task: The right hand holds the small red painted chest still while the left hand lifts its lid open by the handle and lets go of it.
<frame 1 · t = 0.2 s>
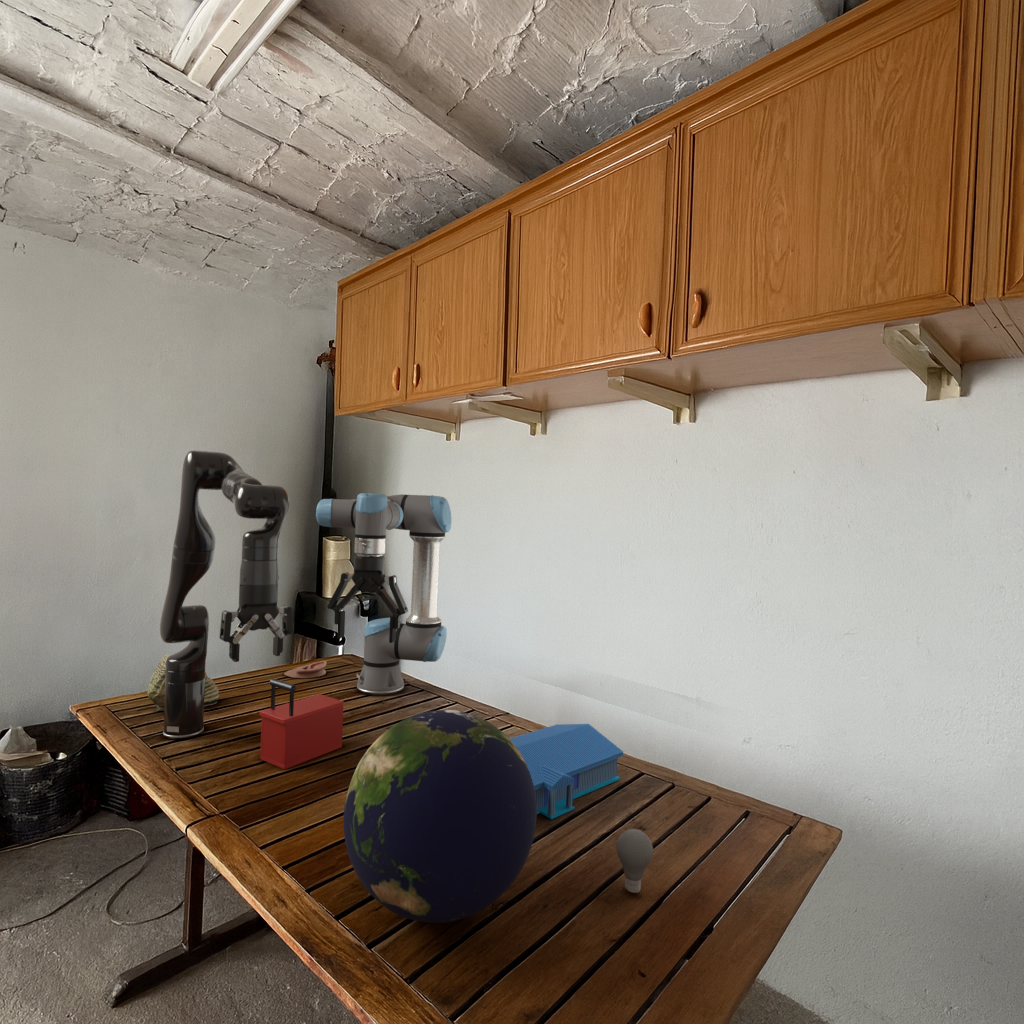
left hand: (256, 658, 132), 29 cm above the table, tool pointing down, fingers open, 8 cm apart
right hand: (366, 639, 159), 28 cm above the table, tool pointing down, fingers open, 13 cm apart
lid: (303, 693, 155), point 15 cm above the table, hinge at 0.0°
globe: (437, 905, 100), on the table
chest: (302, 752, 156), on the table
anatomical model: (305, 674, 223), on the table
fossil: (183, 706, 185), on the table
model building: (534, 788, 142), on the table
light bulb: (632, 891, 106), on the table
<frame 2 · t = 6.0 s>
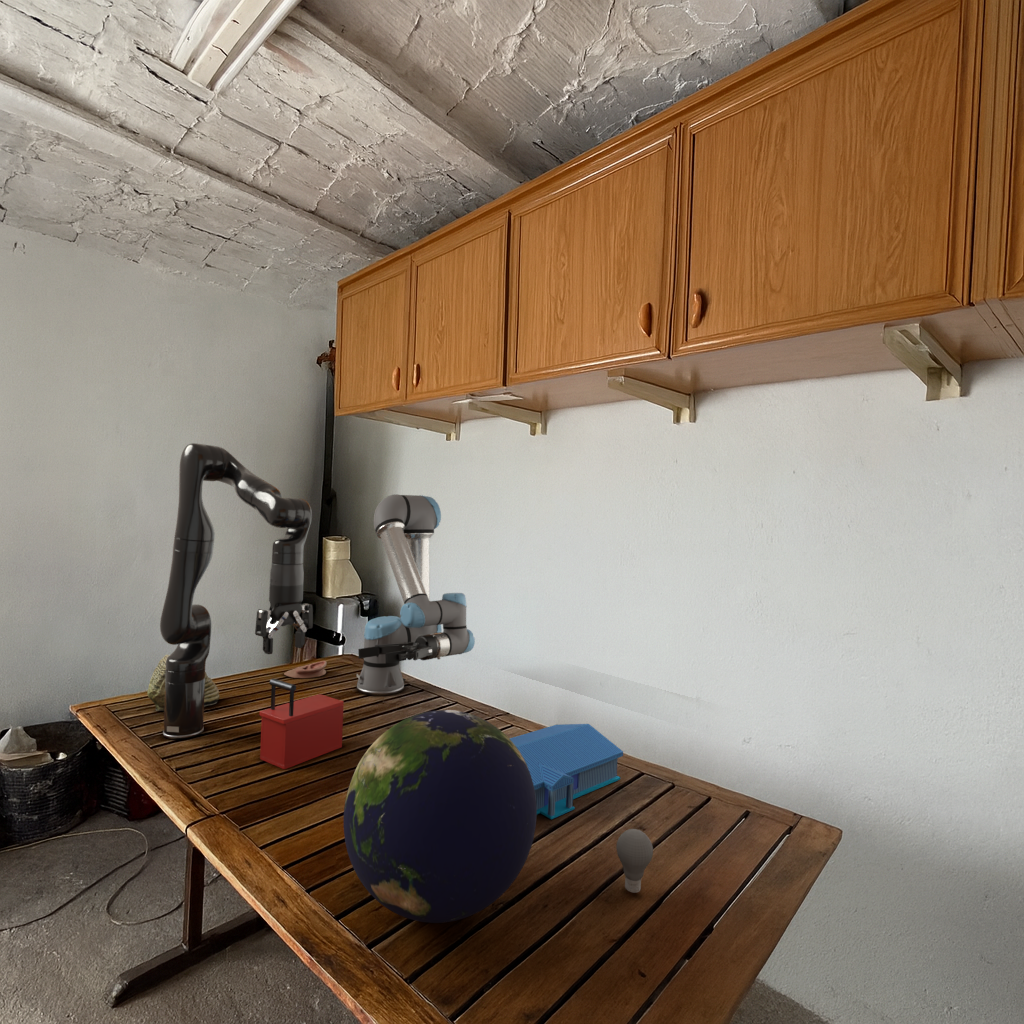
left hand: (284, 650, 150), 26 cm above the table, tool pointing down, fingers open, 8 cm apart
right hand: (372, 656, 179), 19 cm above the table, tool horizontal, fingers open, 13 cm apart
nothing on the table moved.
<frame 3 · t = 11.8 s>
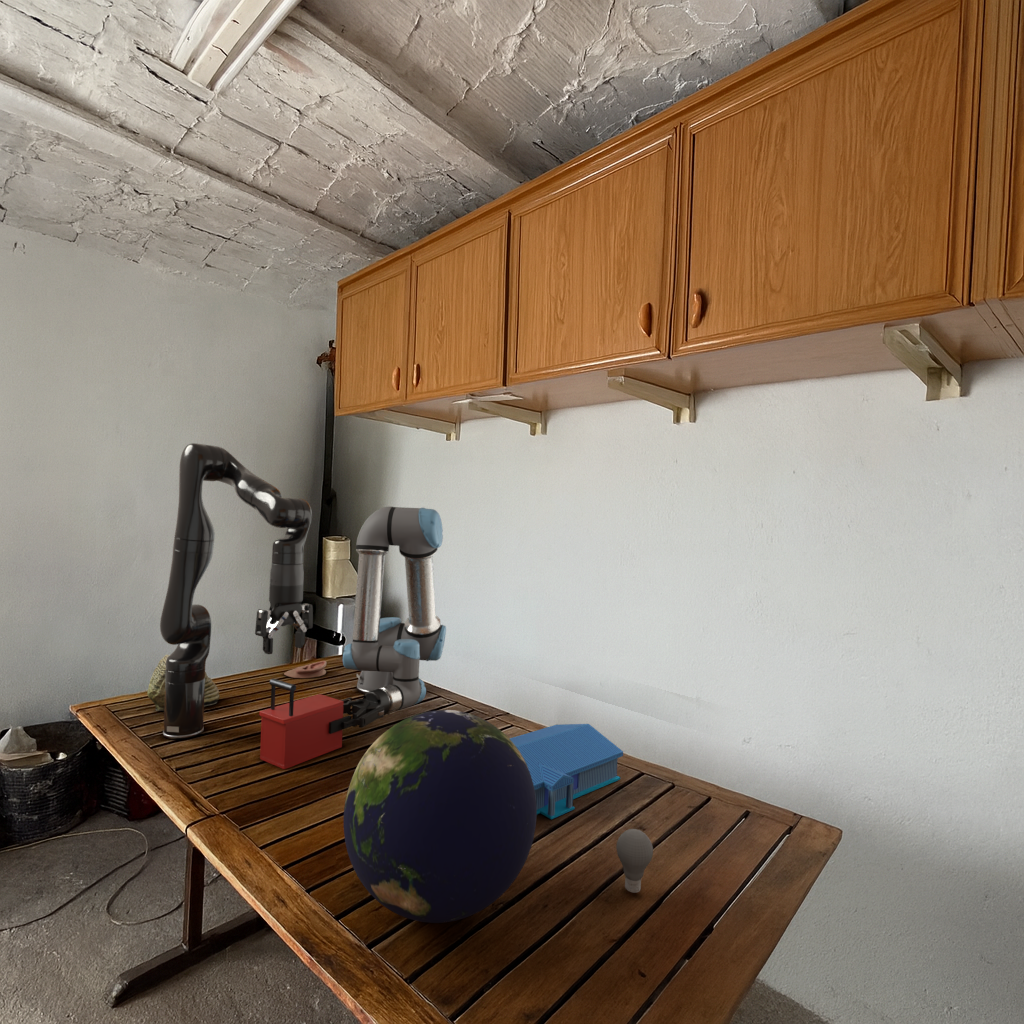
left hand: (284, 650, 150), 26 cm above the table, tool pointing down, fingers open, 8 cm apart
right hand: (316, 723, 159), 6 cm above the table, tool horizontal, fingers closed on chest, 9 cm apart
chest: (302, 752, 156), on the table, touching right hand
everything else where it was.
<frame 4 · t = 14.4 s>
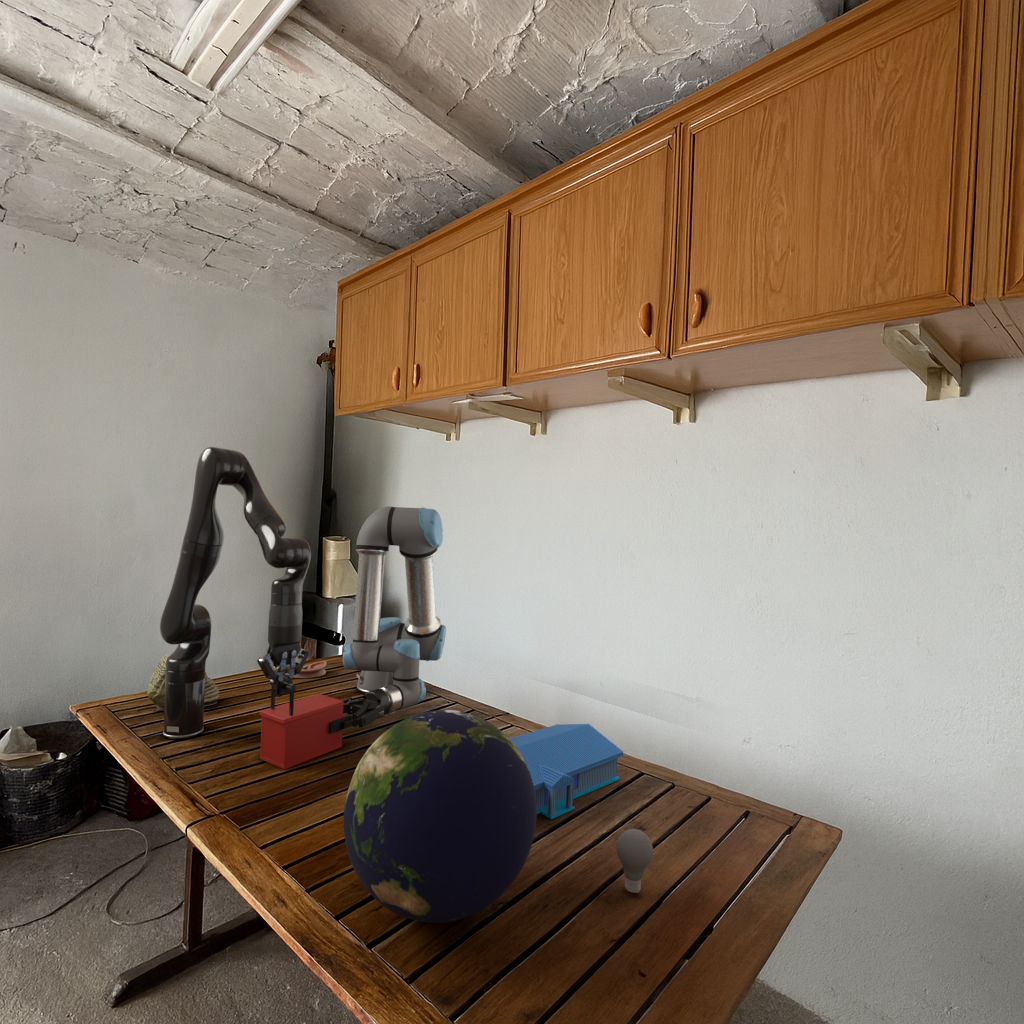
left hand: (282, 694, 150), 16 cm above the table, tool pointing down, fingers closed on lid
right hand: (316, 723, 159), 6 cm above the table, tool horizontal, fingers closed on chest, 9 cm apart
lid: (303, 693, 155), point 15 cm above the table, hinge at 0.2°, touching left hand
chest: (302, 752, 156), on the table, touching right hand
everything else where it was.
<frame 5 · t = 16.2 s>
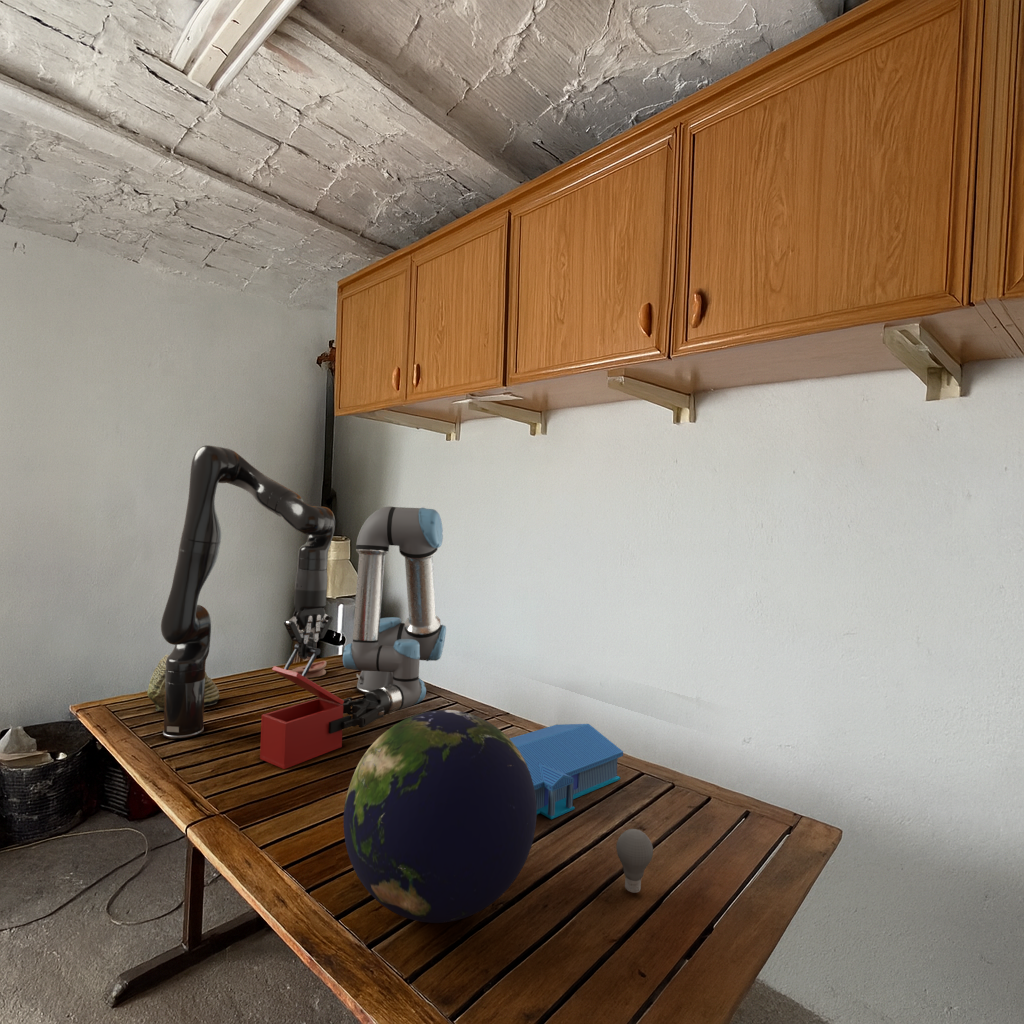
left hand: (306, 657, 156), 24 cm above the table, tool pointing down, fingers closed on lid
right hand: (316, 723, 159), 6 cm above the table, tool horizontal, fingers closed on chest, 9 cm apart
lid: (316, 672, 158), point 19 cm above the table, hinge at 35.2°, touching left hand
chest: (302, 752, 156), on the table, touching right hand
everything else where it was.
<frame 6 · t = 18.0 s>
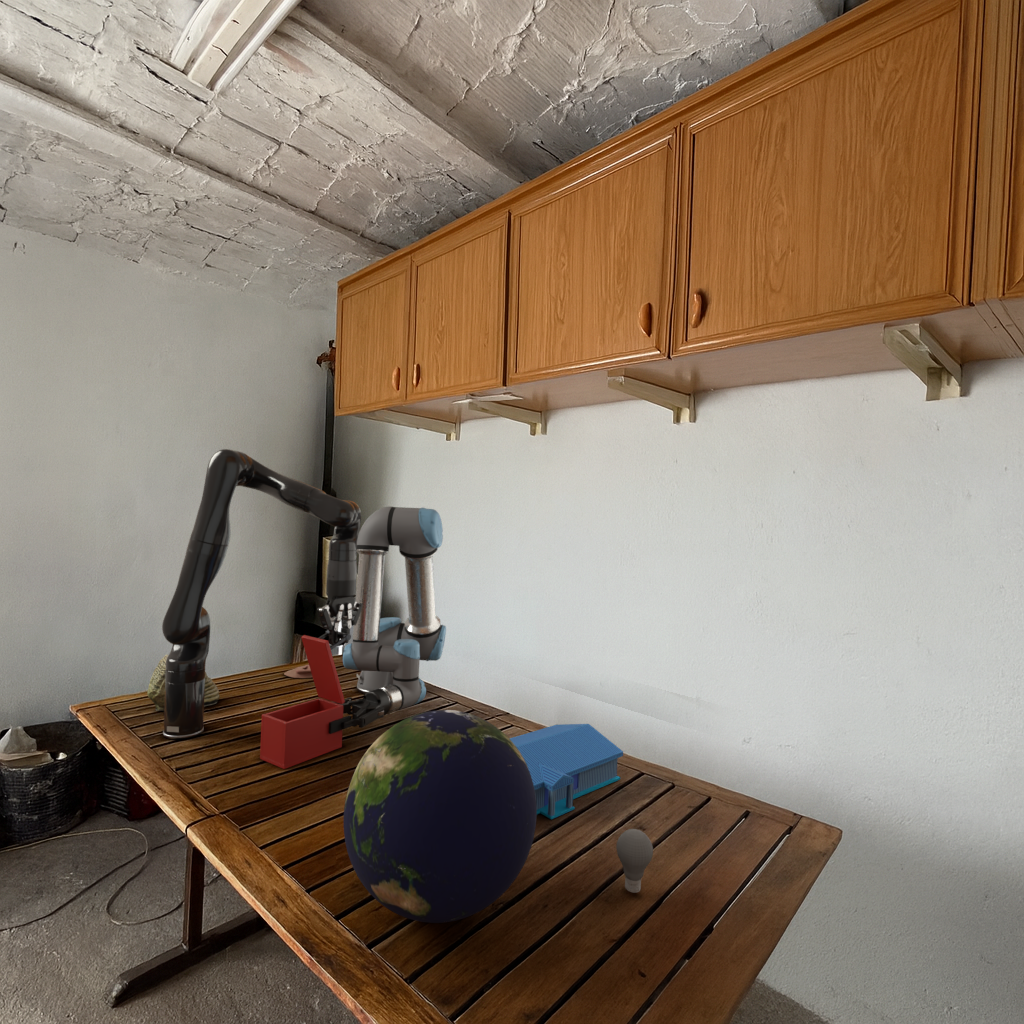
left hand: (339, 643, 164), 25 cm above the table, tool pointing down, fingers open, 3 cm apart
right hand: (316, 723, 159), 6 cm above the table, tool horizontal, fingers closed on chest, 9 cm apart
lid: (333, 661, 163), point 21 cm above the table, hinge at 69.6°
chest: (302, 752, 156), on the table, touching right hand
everything else where it was.
when the right hand's fingers open (6 cm above the table, at t = 22.1 s): chest stays where it is, on the table.
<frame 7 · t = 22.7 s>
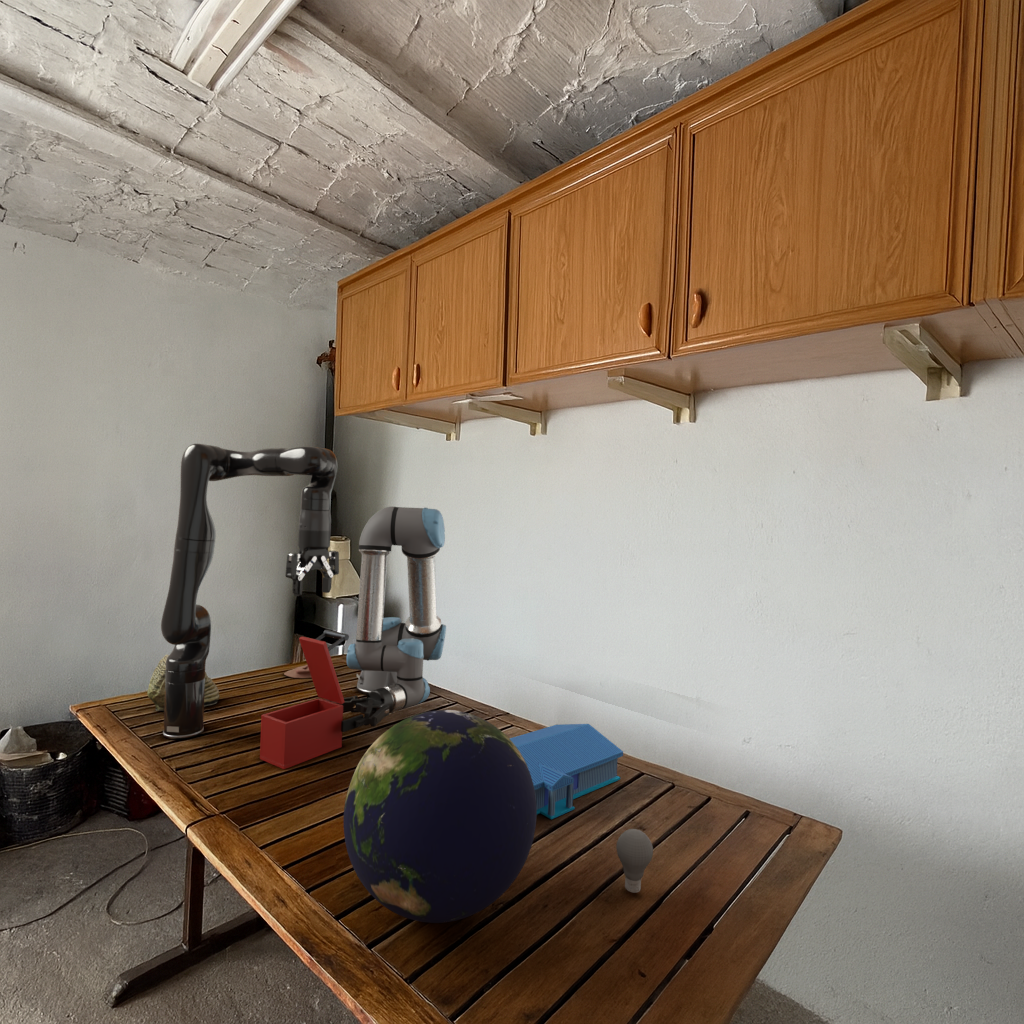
left hand: (312, 594, 156), 39 cm above the table, tool pointing down, fingers open, 8 cm apart
right hand: (324, 720, 161), 6 cm above the table, tool horizontal, fingers open, 13 cm apart
lid: (332, 662, 163), point 21 cm above the table, hinge at 67.6°
chest: (301, 752, 156), on the table
everything else where it was.
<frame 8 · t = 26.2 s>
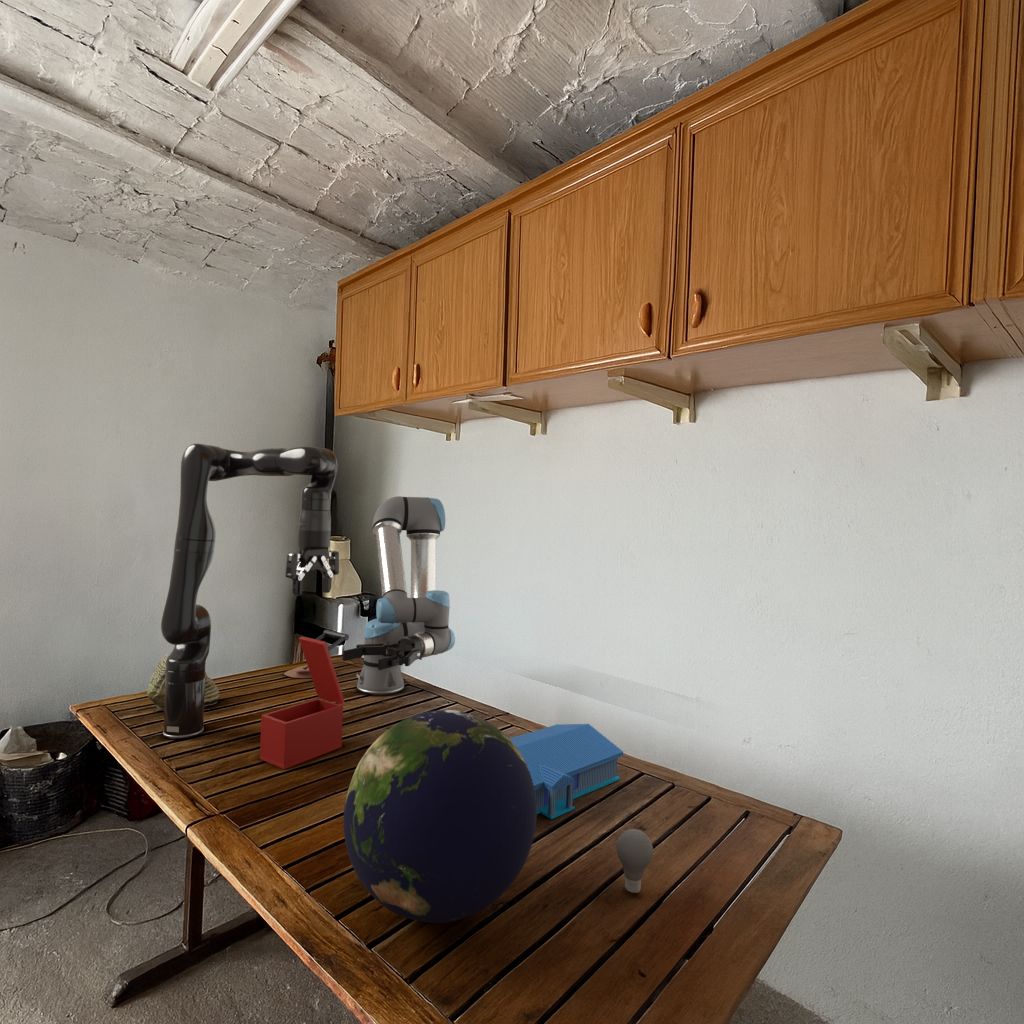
left hand: (312, 594, 156), 39 cm above the table, tool pointing down, fingers open, 8 cm apart
right hand: (360, 660, 171), 19 cm above the table, tool horizontal, fingers open, 13 cm apart
nothing on the table moved.
at the end: lid at +68° (first picture: +0°); the left hand is holding nothing; the right hand is holding nothing; chest tilted 0°; chest never tilted more than 1° during the clip; chest moved 0.1 cm from its start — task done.
